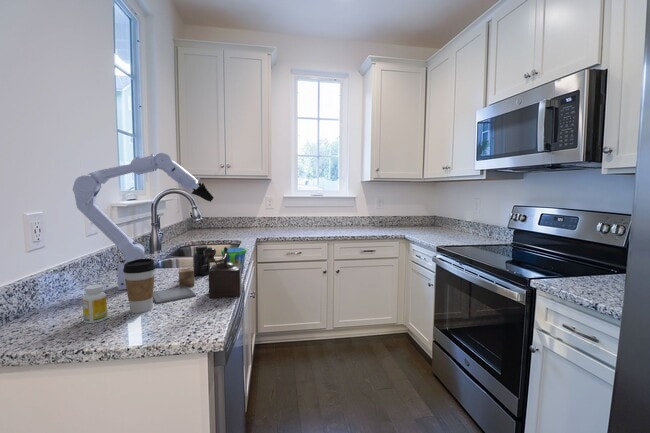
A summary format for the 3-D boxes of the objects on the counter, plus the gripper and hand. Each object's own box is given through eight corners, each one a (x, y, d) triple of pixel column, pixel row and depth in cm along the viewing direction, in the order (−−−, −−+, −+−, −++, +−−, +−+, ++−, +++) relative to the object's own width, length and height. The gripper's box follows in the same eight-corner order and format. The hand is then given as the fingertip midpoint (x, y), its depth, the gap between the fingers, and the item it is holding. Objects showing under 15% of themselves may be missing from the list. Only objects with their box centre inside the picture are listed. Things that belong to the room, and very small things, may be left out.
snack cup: (226, 268, 147) (226, 246, 146) (249, 267, 147) (249, 246, 146) (217, 277, 131) (216, 253, 130) (243, 277, 132) (242, 253, 131)
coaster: (156, 303, 101) (156, 301, 101) (150, 293, 111) (150, 291, 111) (195, 296, 109) (195, 294, 108) (186, 287, 118) (186, 285, 118)
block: (179, 288, 117) (179, 272, 117) (179, 284, 122) (178, 269, 121) (194, 286, 120) (193, 270, 119) (193, 282, 124) (192, 267, 124)
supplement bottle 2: (206, 276, 133) (205, 248, 132) (190, 276, 133) (189, 248, 132) (212, 272, 140) (212, 245, 139) (197, 271, 140) (196, 245, 139)
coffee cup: (163, 306, 99) (161, 259, 98) (139, 316, 91) (137, 265, 90) (143, 303, 102) (140, 257, 101) (118, 312, 94) (115, 263, 93)
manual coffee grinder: (211, 289, 116) (210, 240, 114) (242, 287, 118) (241, 240, 116) (203, 304, 101) (201, 249, 99) (239, 302, 103) (238, 248, 101)
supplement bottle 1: (80, 324, 86) (77, 290, 85) (89, 317, 91) (87, 284, 90) (102, 322, 87) (100, 288, 86) (110, 315, 92) (108, 283, 91)
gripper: (191, 168, 119) (220, 192, 124) (188, 170, 132) (214, 191, 137) (178, 182, 117) (208, 206, 123) (176, 183, 130) (203, 204, 136)
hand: (210, 199), depth 130 cm, fingers open, 7 cm apart
